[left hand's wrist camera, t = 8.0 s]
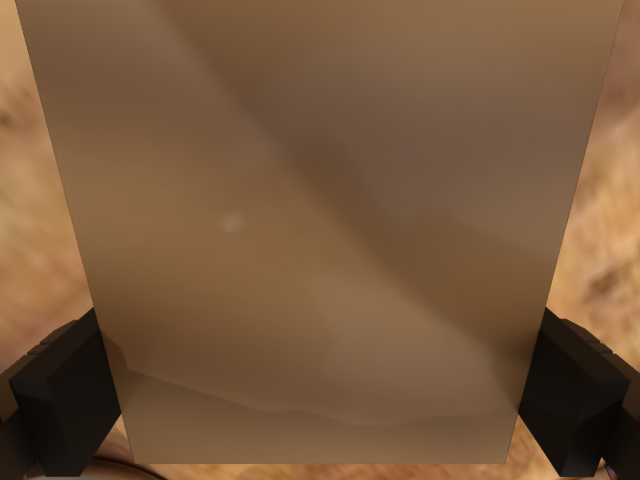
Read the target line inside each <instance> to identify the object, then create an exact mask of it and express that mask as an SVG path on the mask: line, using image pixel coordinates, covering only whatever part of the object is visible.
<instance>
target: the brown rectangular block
mask: <svg viewBox="0 0 640 480" xmlns="http://www.w3.org/2000/svg"><path fill="white" fill-rule="evenodd" d="M15 3H16V6H17V10H18V14H19V18H20V22H21V26H22V30H23V34H24V37H25V41H26V45H27V49H28V53H29V57H30V61H31V65H32V68H33V72H34V76H35V80H36V84H37V88H38V92H39V96H40V99H41V103H42V107H43V111H44V115H45V119H46V123H47V127H48V130H49V134H50V138H51V142H52V146H53V150H54V154H55V158H56V162H57V165H58V169H59V173H60V177H61V181H62V185H63V189H64V193H65V196H66V200H67V204H68V208H69V212H70V216H71V220H72V224H73V227H74V231H75V235H76V239H77V243H78V247H79V251H80V255H81V258H82V262H83V266H84V270H85V274H86V278H87V282H88V286H89V289H90V293H91V297H92V301H93V305H94V309H95V313H96V317H97V320H98V324H99V328H100V332H101V336H102V340H103V344H104V348H105V351H106V355H107V359H108V363H109V367H110V371H111V375H112V379H113V382H114V386H115V390H116V394H117V398H118V402H119V406H120V410H121V413H122V417H123V421H124V425H125V429H126V433H127V437H128V441H129V444H130V448H131V452H132V456H133V460H134V463H135V464H504V463H505V462H506V458H507V454H508V450H509V446H510V442H511V439H512V435H513V431H514V427H515V423H516V419H517V415H518V411H519V407H520V404H521V400H522V396H523V392H524V388H525V384H526V380H527V376H528V373H529V369H530V365H531V361H532V357H533V353H534V349H535V345H536V342H537V338H538V334H539V330H540V326H541V322H542V318H543V314H544V310H545V307H546V303H547V299H548V295H549V291H550V287H551V283H552V279H553V276H554V272H555V268H556V264H557V260H558V256H559V252H560V248H561V245H562V241H563V237H564V233H565V229H566V225H567V221H568V217H569V213H570V210H571V206H572V202H573V198H574V194H575V190H576V186H577V182H578V179H579V175H580V171H581V167H582V163H583V159H584V155H585V151H586V148H587V144H588V140H589V136H590V132H591V128H592V124H593V120H594V116H595V113H596V109H597V105H598V101H599V97H600V93H601V89H602V85H603V82H604V78H605V74H606V70H607V66H608V62H609V58H610V54H611V51H612V47H613V43H614V39H615V35H616V31H617V27H618V23H619V19H620V16H621V12H622V8H623V4H624V0H15Z"/></svg>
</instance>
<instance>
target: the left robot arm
mask: <svg viewBox="0 0 640 480" xmlns="http://www.w3.org/2000/svg"><path fill="white" fill-rule="evenodd" d="M518 414H519V415H520V417H521V418H522V420H523V421H524V423H525V424H526V426H527V428H528V429H529V431H530V432H531V434H532V435H533V437H534V438H535V440H536V441H537V443H538V444H539V446H540V447H541V449H542V450H543V452H544V453H545V455H546V456H547V458H548V459H549V461H550V462H551V464H552V465H553V467H554V469H555V470H556V472H557V473H558V475H559V476H560V477H594V475H595V472H596V470H597V467H598V465H599V462H600V460H601V457H602V458H603V459H604V461H605V462H606V463H607V464H608V465H609V467H610V468H611V469H612V470H613V472H614V473H615V474H614V476H613V479H612V480H640V373H639V372H638V371H636V370H635V369H634V368H633V367H631V366H630V365H629V364H628V363H627V362H625V361H624V360H623V359H622V358H620V357H619V356H618V355H617V354H613V351H612V350H611V349H609V348H608V347H607V346H606V345H604V344H603V343H600V340H598V339H597V338H596V337H595V336H593V335H592V334H591V333H590V332H589V331H587V330H586V329H585V328H583V327H581V326H579V325H577V324H575V323H573V322H571V321H569V320H567V319H560V318H558V317H557V316H556V315H555V314H554V313H553V312H551V311H550V310H549V309H548V308H547V307H545V310H544V314H543V318H542V322H541V326H540V330H539V334H538V338H537V342H536V345H535V349H534V353H533V357H532V361H531V365H530V369H529V373H528V376H527V380H526V384H525V388H524V392H523V396H522V400H521V404H520V407H519V411H518ZM120 415H121V410H120V406H119V402H118V398H117V394H116V390H115V386H114V382H113V379H112V375H111V371H110V367H109V363H108V359H107V355H106V351H105V348H104V344H103V340H102V336H101V332H100V328H99V324H98V320H97V317H96V313H95V309H94V307H93V308H92V309H91V310H89V311H88V312H87V313H86V314H85V315H84V316H82V317H81V318H80V319H79V320H73V321H71V322H69V323H67V324H65V325H64V326H62V327H60V328H58V329H56V330H54V331H53V332H52V333H51V334H49V335H48V336H47V337H46V338H44V339H43V340H42V341H41V342H40V344H39V345H36V346H35V347H33V348H32V349H31V350H30V351H29V352H27V355H24V356H23V357H21V358H20V359H19V360H18V361H16V362H15V363H14V364H13V365H12V366H10V367H9V368H8V369H7V370H5V371H4V372H3V373H2V374H1V375H0V480H160V479H158V478H156V477H154V476H152V475H150V474H148V473H146V472H143V471H141V470H138V469H136V468H133V467H130V466H126V465H123V464H119V463H115V462H110V461H105V460H97V459H92V457H93V456H94V454H95V453H96V451H97V450H98V448H99V447H100V445H101V444H102V442H103V441H104V439H105V438H106V436H107V435H108V433H109V432H110V430H111V428H112V427H113V425H114V424H115V422H116V421H117V419H118V418H119V416H120ZM38 458H39V461H40V463H39V464H35V465H33V464H34V463H35V462H36V461H37V460H38Z"/></svg>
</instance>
